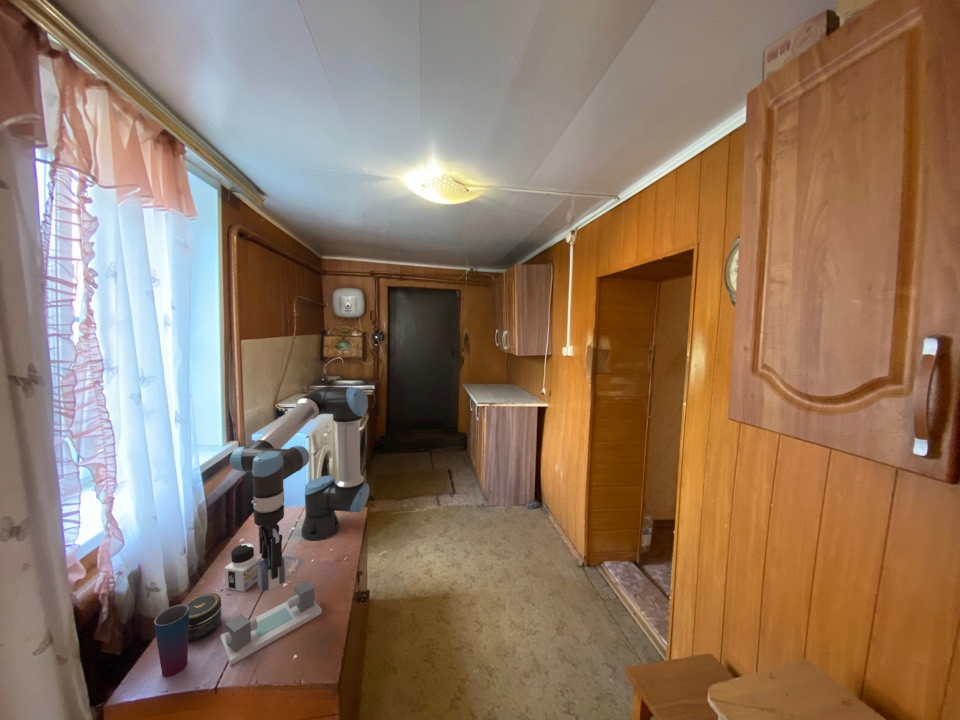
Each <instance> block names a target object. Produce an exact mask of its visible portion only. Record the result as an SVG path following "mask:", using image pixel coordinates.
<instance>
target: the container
mask: <svg viewBox="0 0 960 720" xmlns="http://www.w3.org/2000/svg"><path fill="white" fill-rule="evenodd" d="M230 556H231V562H230V563H229V564H227V565H226V566H225V567H224V584H225V585H224V587H225V589H228V590H233V591H237V592H241V593H242V592H243V593H245V592H246V591H247V590H248V589H249V588H251V587H252V586H253V585H254V584H255V583H257V582H258V577H257V563H258V562H260V561H262V557H261V556H258V555H255V545H254V544H252V543H242V544H240V545H237V546H235V547H234V548H233V549H232V551H231V554H230Z"/></svg>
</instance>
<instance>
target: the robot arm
mask: <svg viewBox="0 0 960 720" xmlns="http://www.w3.org/2000/svg"><path fill="white" fill-rule="evenodd" d="M368 403H369V402H368V396H367V394H366V392H365V391H364V389H362V388H360V387H354V386H330V385H326V386H321V387H318V388H317V389H314V390H312V391H310V392H308V393H306V394H305V395H304V396H302V397H301V398H299V400H298V401H297V402H296V403H295V406H294V407H293V408H292V409H291V410H290V411H288V412H287V413H286V414H285V415H284V416H283V417H282V418H280V419H279V420H278V421H277V422H276V423H275V424H274V425H272V426H271V427H270V428H269V429H268V430H267V431H266V432H264V433H263V434H262V435H261V436H260V437H259V438H257V439H256V440H255V441H254V442H253V443H252V444H250V445H249V446H247V445H244V446H239V447H236V448H235V449H234V450H233V451H232V453H231V455H230V458H229V464H230V466H231V469H233V470H234V471H239V472H245V473H247V472H249V473H251V474H252V486H253V487H252V488H253V491H252V494H253V500H251V504H252V505H253V509H254V510H253V523H254V524H255V525H257V527H258V539H259V540H258V541H259V542H258V543H259V546H258V547H259V554H260V555H261V556H260V557H261V561H263V560H265V559H267V558H268V560H269V567H267V568H266V570H267V571H268V589H269V590H268V591H270V590H273V589H274V588H277V587H278V586H280V584H279V567H281V566H282V557H283V548H282V545H283V543H282V542H283V534H280V525H279V524H278V523H279V522H280V521H282V520H283V519H284V517H285V505H284V503H285V489H284V481H285V480H286V479H287V478H289V477H290V476H292V475H294V474H295V473H297V472H299V471H301V470H302V469H303V468H304V467H305V466H306V465H308V463H309V462H310V453H309V450H308V449H307V448H306V447H304V446H302V445H294V446H291V447H289V448H283V447H284V446H285V445H286V444H287V443H288V442H290V441H291V440H292V438H293V437H295V436H296V434H297V433H298V432H300V430H302V428H304V427H305V426H306V424H308V423H309V422H310V421H311V420H314V419H316V418H318V416H321V415H332V421H333V422H334V423H336V428H337V433H336V434H337V457H338V459H337V460H338V461H337V462H338V478H337V479H335V477H334V476H332V475H323V476H319V477H315V478H313V479H311V480H310V481H308V482H307V483H306V485H305V488H304V502H305V503H304V505H305V506H304V508H305V517H304V520H303V522H302V526H301V529H300V531H301V534H300V535H301V538H303V539H304V540H308V541H321V540H324V539H328V538H330V537H331V536H333V535H335V534H336V533H338V531H339V528H340V522H339V518H338V516H337V514H336V511H338V512H348V513H359V512H362V511H363V509H364V508H365V506H366V505H367V502H368V499H369V497H370V485H369V484H368V483H365V478H364V477H365V476H363V475H362V474H361V461H360V460H361V454H360V421H362V420H363V416H365V415H366V413H367V411H368V407H369V404H368Z"/></svg>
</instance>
